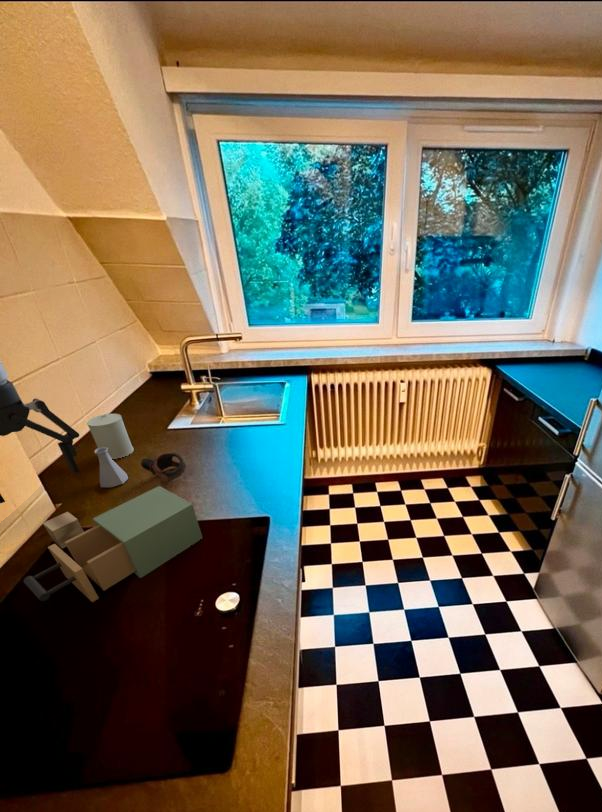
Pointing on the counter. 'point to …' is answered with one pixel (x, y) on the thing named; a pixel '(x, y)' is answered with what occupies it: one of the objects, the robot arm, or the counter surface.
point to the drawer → (87, 564)
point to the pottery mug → (164, 466)
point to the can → (111, 434)
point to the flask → (109, 469)
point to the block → (63, 528)
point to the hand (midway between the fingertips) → (40, 484)
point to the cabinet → (152, 528)
